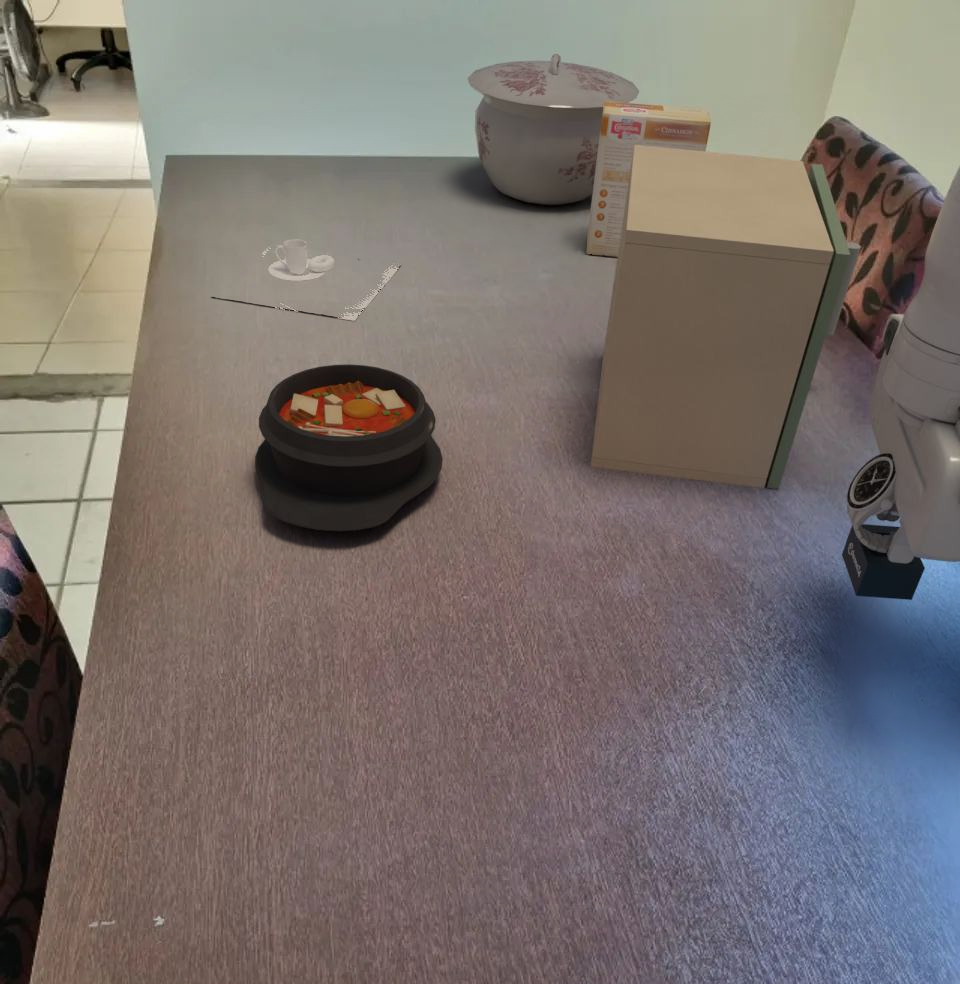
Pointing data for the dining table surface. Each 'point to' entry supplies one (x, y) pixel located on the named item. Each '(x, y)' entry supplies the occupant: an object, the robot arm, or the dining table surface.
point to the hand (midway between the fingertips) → (890, 535)
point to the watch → (876, 536)
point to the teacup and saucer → (312, 269)
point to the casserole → (345, 447)
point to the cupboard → (708, 314)
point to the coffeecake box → (615, 154)
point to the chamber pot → (543, 126)
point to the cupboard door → (817, 318)
